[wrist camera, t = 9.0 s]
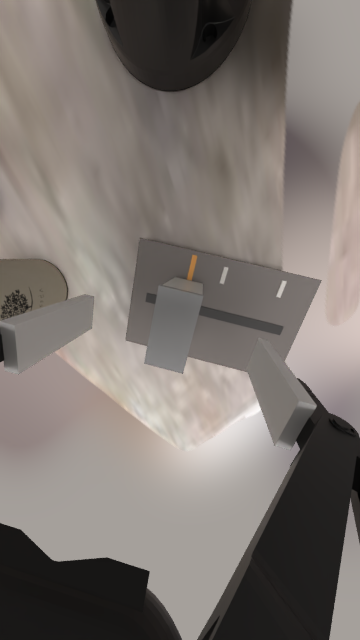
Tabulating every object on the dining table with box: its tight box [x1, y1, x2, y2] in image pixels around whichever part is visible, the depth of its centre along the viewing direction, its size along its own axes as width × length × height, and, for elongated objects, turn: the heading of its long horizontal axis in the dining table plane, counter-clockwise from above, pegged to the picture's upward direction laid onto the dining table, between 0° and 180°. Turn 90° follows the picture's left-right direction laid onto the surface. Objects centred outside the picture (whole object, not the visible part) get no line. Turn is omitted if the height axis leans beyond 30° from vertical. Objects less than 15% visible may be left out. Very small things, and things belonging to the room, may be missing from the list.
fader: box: [144, 277, 203, 374], centre depth 20 cm, size 4×7×9 cm, turn 167°
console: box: [126, 238, 321, 372], centre depth 26 cm, size 22×14×3 cm, turn 77°
